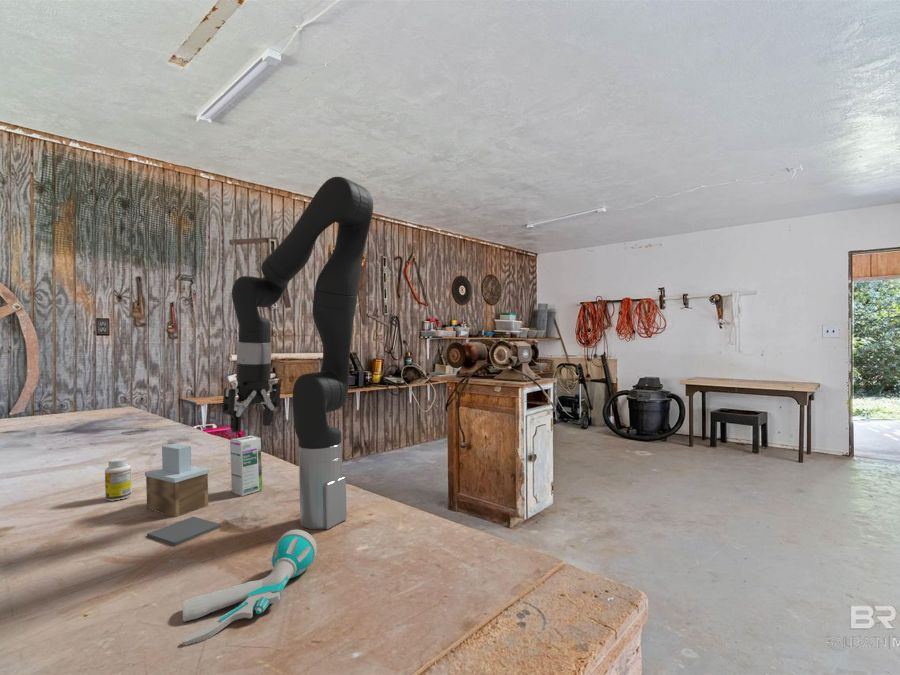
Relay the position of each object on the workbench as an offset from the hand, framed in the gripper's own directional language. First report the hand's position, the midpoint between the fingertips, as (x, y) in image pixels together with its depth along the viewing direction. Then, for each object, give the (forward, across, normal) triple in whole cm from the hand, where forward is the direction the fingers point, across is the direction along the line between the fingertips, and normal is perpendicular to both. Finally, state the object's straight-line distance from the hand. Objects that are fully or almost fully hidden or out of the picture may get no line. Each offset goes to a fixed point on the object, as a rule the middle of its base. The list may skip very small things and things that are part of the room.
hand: (252, 428), depth 109 cm
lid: (+14, -7, +18) cm, 24 cm away
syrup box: (+21, +8, +12) cm, 25 cm away
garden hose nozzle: (+18, -24, -33) cm, 45 cm away
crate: (+21, -7, +18) cm, 28 cm away
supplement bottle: (+23, -10, +39) cm, 46 cm away
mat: (+20, -15, +2) cm, 25 cm away
